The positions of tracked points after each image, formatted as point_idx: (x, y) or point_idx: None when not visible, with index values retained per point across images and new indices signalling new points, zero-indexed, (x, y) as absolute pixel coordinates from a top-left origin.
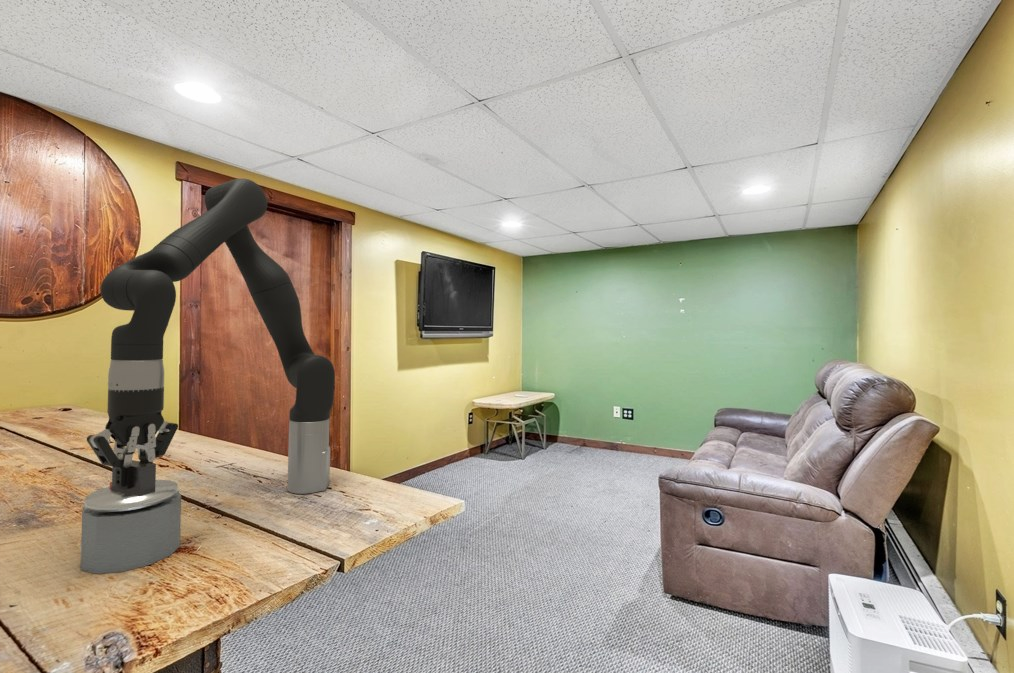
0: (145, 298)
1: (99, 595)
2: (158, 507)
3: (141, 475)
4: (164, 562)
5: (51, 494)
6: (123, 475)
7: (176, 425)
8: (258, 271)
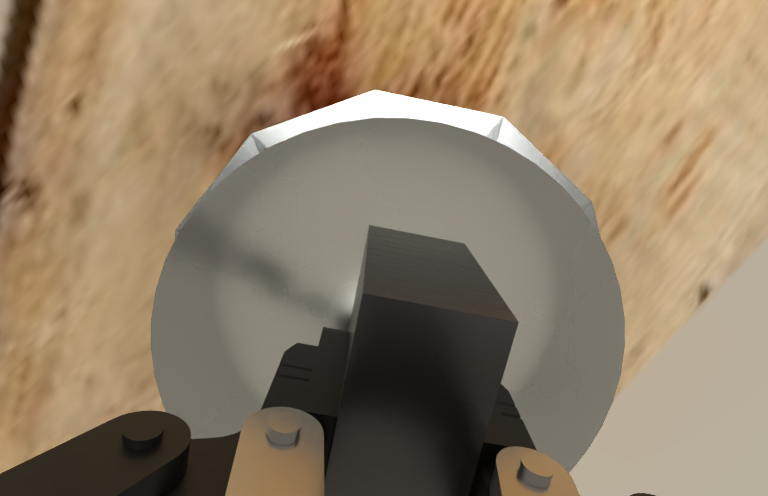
0: None
1: (647, 102)
2: (450, 110)
3: (493, 290)
4: (424, 78)
5: None
6: (512, 427)
7: None
8: None
